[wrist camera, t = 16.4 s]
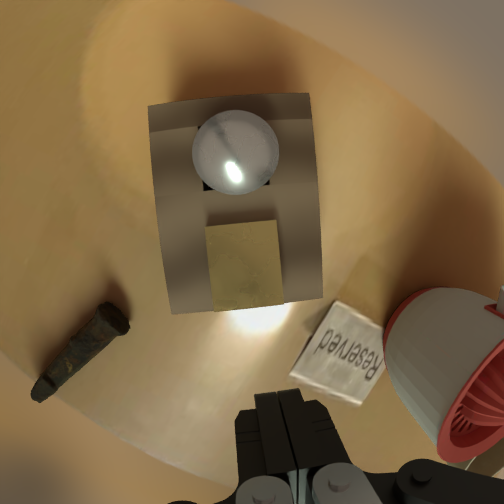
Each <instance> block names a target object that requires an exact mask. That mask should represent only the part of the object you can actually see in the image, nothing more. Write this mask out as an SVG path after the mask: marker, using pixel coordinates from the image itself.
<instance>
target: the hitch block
mask: <svg viewBox="0 0 504 504" xmlns="http://www.w3.org/2000/svg"><path fill="white" fill-rule="evenodd" d="M230 110H242V111H247V112H250V113H253V114H255V115H257V116H259V117H260V118H262V119H263V120H264V121H266V122H267V123H268V124H269V126H270V127H271V128H272V130H273V131H274V133H275V135H276V137H277V141H278V145H279V160H278V164H277V167H276V169H275V171H274V173H273V175H272V176H271V178H270V179H269V180H268V181H267V182H266V183H265V184H264V185H263V186H261V187H260V188H258V189H257V190H255V191H252V192H250V193H246V194H241V195H231V194H225V193H221V192H219V191H216V190H215V189H209V188H208V185H207V184H206V183H205V182H204V181H203V180H202V179H201V178H200V176H199V175H198V173H197V171H196V169H195V166H194V163H193V158H192V147H193V142H194V139H195V136H196V134H197V132H198V131H199V129H200V128H201V126H202V125H203V124H204V123H205V122H206V121H207V120H209V119H210V118H211V117H213V116H215V115H216V114H219V113H221V112H225V111H230ZM148 120H149V137H150V151H151V163H152V175H153V185H154V195H155V204H156V213H157V221H158V229H159V237H160V244H161V252H162V259H163V265H164V272H165V278H166V284H167V290H168V296H169V302H170V308H171V313H172V314H184V313H195V312H206V311H214V308H213V300H212V292H211V283H210V274H209V265H208V256H207V246H206V236H205V227H208V226H217V225H227V224H237V223H248V222H258V221H269V220H276V222H277V232H278V242H279V253H280V264H281V275H282V286H283V298H284V303H289V302H296V301H304V300H312V299H319V298H323V280H322V249H321V227H320V209H319V193H318V179H317V166H316V154H315V143H314V133H313V123H312V114H311V105H310V96H309V93H271V94H250V95H235V96H222V97H212V98H202V99H193V100H185V101H178V102H171V103H164V104H157V105H151V106H148Z"/></svg>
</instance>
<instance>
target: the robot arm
mask: <svg viewBox="0 0 504 504" xmlns="http://www.w3.org/2000/svg"><path fill="white" fill-rule="evenodd" d="M254 399H255V408H256V409H250V410H241V411H240V412H239V414H238V416H237V418H236V419H235V434H236V435H235V436H236V449H237V463H238V475H239V483H238V486H237V488H236V490H235V491H234V493H233V494H232V495H231V496H229V497H228V498H227V499H225V500H223V501H220V502H218V503H214V504H504V480H503V479H499V478H494V477H490V476H486V475H482V474H478V473H474V472H470V471H466V470H463V469H459V468H456V467H452V466H449V465H446V464H442V463H439V462H436V461H433V460H429V459H415V460H412V461H409V462H407V463H406V464H404V465H403V466H402V467H401V468H400V469H399V471H398V472H395V473H368V472H365V471H362V470H361V469H360V468H358V467H357V466H355V465H353V464H352V462H351V461H350V459H349V457H348V454H347V452H346V450H345V448H344V445H343V443H342V441H341V439H340V437H339V434H338V432H337V430H336V429H335V426H334V423H333V421H332V420H331V417H330V415H329V412H328V410H327V408H326V407H325V406H324V405H322V404H321V403H320V402H319V401H317V400H311V401H305V402H304V400H303V397H302V395H301V392H300V389H299V388H295V389H289V390H282V391H277V394H276V392H268V393H261V394H254ZM168 504H197V503H194V502H191V501H175V502H171V503H168Z"/></svg>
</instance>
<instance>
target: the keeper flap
mask: <svg viewBox="0 0 504 504" xmlns="http://www.w3.org/2000/svg"><path fill="white" fill-rule="evenodd" d="M205 236H206V246H207V256H208V265H209V274H210V283H211V292H212V300H213V308H214V312H219V311H229V310H238V309H248V308H257V307H265V306H274V305H282V304H284V298H283V286H282V275H281V264H280V253H279V242H278V232H277V222H276V220H269V221H258V222H248V223H237V224H227V225H217V226H208V227H205Z"/></svg>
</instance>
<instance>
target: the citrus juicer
mask: <svg viewBox="0 0 504 504" xmlns="http://www.w3.org/2000/svg"><path fill="white" fill-rule="evenodd" d="M383 352H384V361H385V365H386V368H387V371H388V373H389V376H390V379H391V382H392V384H393V386H394V388H395V391H396V393H397V394H398V396H399V397H400V399H401V400H402V402H403V403H404V405H405V406H406V408H407V409H408V410H409V412H410V413H411V414H412V416H413V417H414V418H415V420H416V421H417V422H418V423H419V425H420V426H421V427H422V429H423V430H424V431H425V433H426V434H427V435H428V437H429V438H430V439H431V440H432V442H433V443H434V444H435V446H436V447H437V452H438V455H439V456H440V458H441V459H443V460H445V461H447V462H449V463H459V462H464V461H467V460H469V459H472V458H474V457H476V456H478V455H480V454H482V453H483V452H485V451H486V450H488V449H489V448H491V447H492V446H493V445H495V444H496V443H497V442H498V441H499V440H501V439H502V438H503V437H504V285H502V286H501V288H500V293H499V298H498V302H496V301H495V300H493V299H491V298H488V297H486V296H483V295H481V294H478V293H476V292H473V291H470V290H465V289H460V288H450V287H441V286H440V287H433V288H427V289H423V290H420V291H418V292H415V293H414V294H412V295H411V296H409V297H408V298H407V299H406V300H404V301H403V302H402V303H401V304H400V305H399V307H398V308H397V309H396V310H395V312H394V313H393V315H392V316H391V318H390V320H389V322H388V324H387V327H386V330H385V333H384V338H383Z"/></svg>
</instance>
